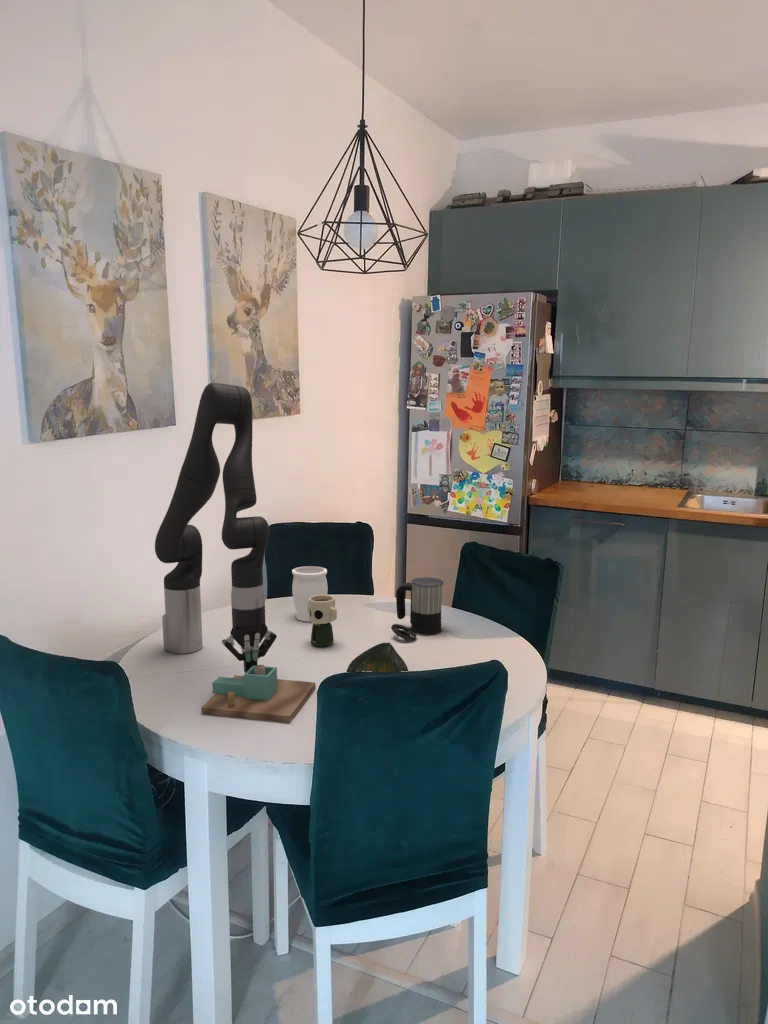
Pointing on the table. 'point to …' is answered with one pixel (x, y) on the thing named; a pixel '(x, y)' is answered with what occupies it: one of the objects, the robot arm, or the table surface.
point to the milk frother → (420, 607)
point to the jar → (307, 588)
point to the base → (262, 701)
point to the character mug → (322, 618)
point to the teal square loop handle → (249, 684)
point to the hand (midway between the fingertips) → (250, 675)
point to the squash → (378, 660)
